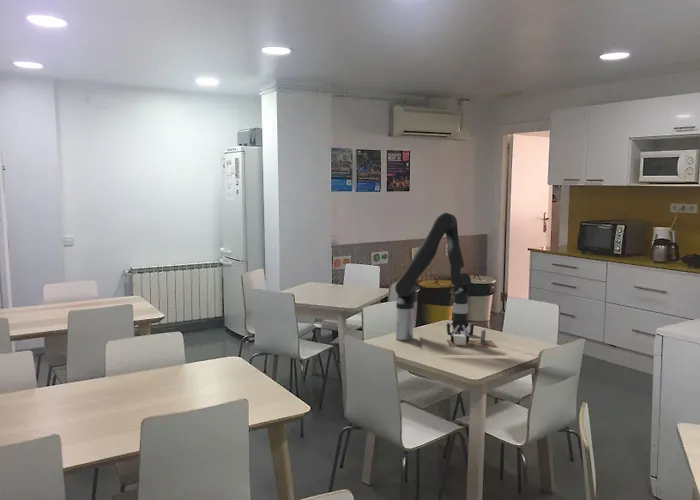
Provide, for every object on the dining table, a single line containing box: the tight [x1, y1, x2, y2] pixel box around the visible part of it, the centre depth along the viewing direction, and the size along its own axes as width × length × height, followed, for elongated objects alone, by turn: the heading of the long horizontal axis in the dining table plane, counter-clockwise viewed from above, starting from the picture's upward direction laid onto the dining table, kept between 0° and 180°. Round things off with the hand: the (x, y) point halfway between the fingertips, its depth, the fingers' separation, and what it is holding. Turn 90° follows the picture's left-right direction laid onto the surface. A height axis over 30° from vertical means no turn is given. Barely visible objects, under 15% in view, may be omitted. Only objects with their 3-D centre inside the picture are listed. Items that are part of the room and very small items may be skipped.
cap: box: [454, 334, 466, 345], centre depth 291 cm, size 6×6×4 cm
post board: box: [446, 329, 498, 349], centre depth 291 cm, size 24×14×8 cm, turn 87°
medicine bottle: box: [452, 325, 470, 336], centre depth 311 cm, size 7×7×12 cm
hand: (459, 342), depth 291 cm, fingers open, 6 cm apart
